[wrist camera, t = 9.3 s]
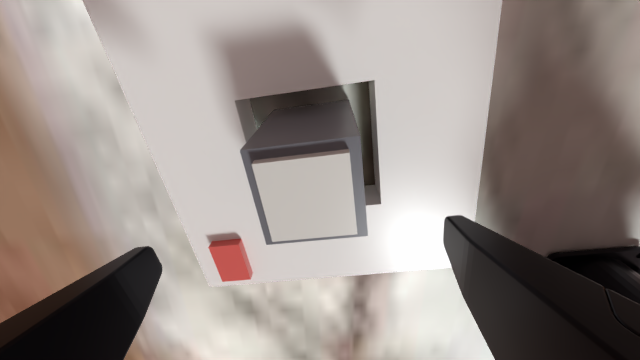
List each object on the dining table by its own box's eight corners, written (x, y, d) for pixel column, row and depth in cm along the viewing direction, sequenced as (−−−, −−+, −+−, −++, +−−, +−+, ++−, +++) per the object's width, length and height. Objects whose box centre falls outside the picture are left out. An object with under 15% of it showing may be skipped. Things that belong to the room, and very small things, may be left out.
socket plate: (481, -71, 13) (524, -104, 10) (454, 241, 20) (473, 272, 18) (117, -2, 14) (66, -13, 11) (221, 262, 22) (206, 293, 19)
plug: (348, 99, 16) (361, 139, 10) (355, 169, 18) (369, 242, 11) (274, 109, 17) (236, 154, 10) (288, 176, 19) (264, 250, 12)
